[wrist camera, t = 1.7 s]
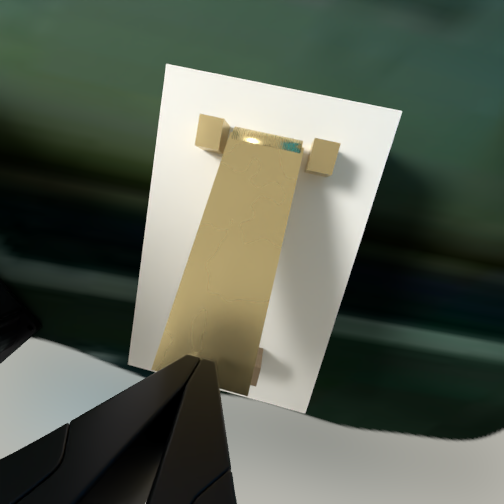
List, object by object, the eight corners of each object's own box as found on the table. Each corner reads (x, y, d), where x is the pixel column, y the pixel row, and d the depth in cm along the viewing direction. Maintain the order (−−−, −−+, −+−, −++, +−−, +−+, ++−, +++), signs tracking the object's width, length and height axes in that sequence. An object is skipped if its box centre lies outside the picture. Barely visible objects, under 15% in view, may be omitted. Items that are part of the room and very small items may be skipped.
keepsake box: (200, 101, 16) (145, 39, 10) (367, 135, 16) (426, 94, 9) (164, 323, 20) (107, 385, 13) (300, 359, 19) (309, 442, 13)
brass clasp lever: (235, 137, 12) (233, 120, 11) (302, 152, 11) (307, 135, 10) (160, 366, 9) (150, 370, 8) (247, 390, 9) (247, 396, 8)
